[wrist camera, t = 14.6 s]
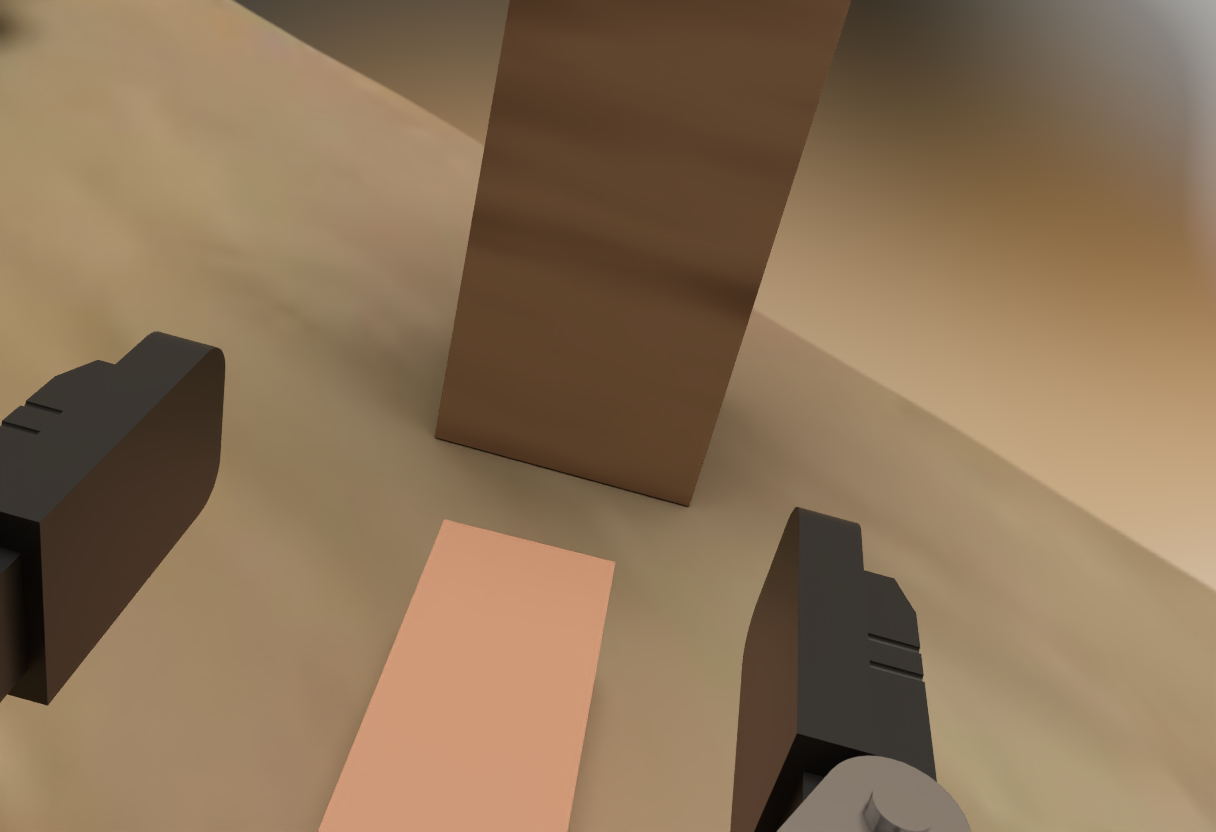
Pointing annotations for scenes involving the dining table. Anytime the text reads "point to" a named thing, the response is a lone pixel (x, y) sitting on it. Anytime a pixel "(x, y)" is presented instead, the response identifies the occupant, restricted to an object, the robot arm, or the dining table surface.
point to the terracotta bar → (480, 693)
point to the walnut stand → (627, 227)
